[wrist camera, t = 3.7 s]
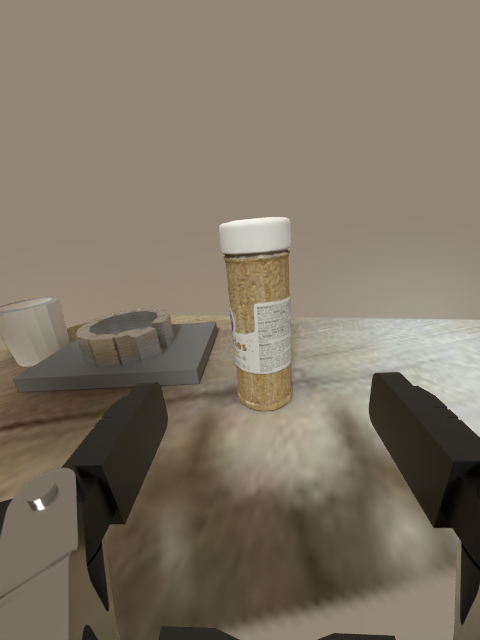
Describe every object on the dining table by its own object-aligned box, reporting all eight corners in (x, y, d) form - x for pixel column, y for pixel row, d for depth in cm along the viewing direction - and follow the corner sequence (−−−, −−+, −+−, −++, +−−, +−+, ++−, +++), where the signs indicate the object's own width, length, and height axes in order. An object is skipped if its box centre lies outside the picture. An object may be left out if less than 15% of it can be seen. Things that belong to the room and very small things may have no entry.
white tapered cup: (6, 359, 32) (-18, 308, 29) (67, 339, 36) (50, 294, 34) (17, 375, 27) (-10, 316, 25) (84, 350, 32) (66, 299, 30)
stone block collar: (63, 370, 24) (52, 343, 23) (114, 331, 33) (108, 311, 32) (155, 365, 23) (148, 336, 22) (182, 327, 32) (178, 305, 31)
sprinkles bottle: (231, 387, 22) (210, 224, 17) (277, 374, 23) (270, 218, 18) (249, 422, 17) (229, 219, 13) (305, 403, 19) (305, 213, 14)
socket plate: (19, 392, 24) (12, 379, 23) (93, 339, 35) (90, 330, 35) (199, 383, 23) (196, 369, 22) (217, 331, 34) (215, 321, 33)
